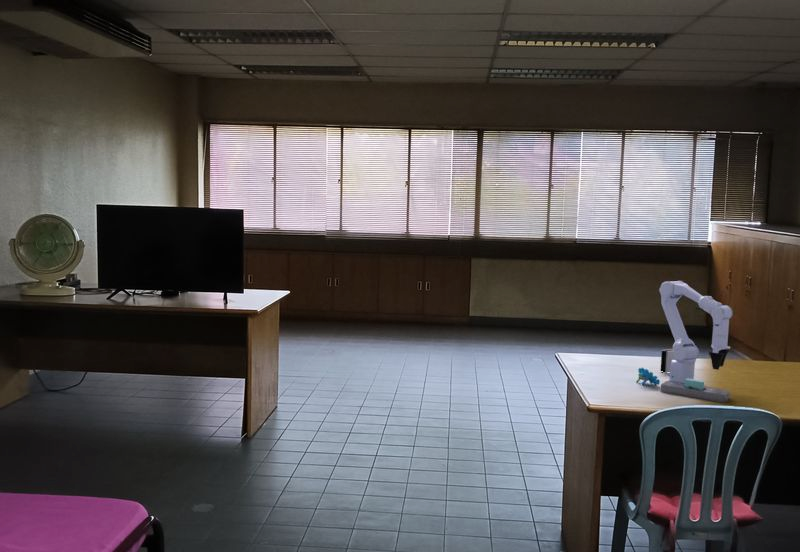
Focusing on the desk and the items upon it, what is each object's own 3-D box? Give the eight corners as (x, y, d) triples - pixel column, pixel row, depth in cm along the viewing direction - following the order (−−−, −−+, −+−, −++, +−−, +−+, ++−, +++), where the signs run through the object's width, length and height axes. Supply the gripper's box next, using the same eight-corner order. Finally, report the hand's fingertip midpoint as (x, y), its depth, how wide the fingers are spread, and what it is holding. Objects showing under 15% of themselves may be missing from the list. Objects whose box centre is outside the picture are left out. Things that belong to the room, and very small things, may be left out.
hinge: (671, 367, 322) (673, 346, 321) (682, 370, 318) (684, 348, 317) (658, 372, 312) (660, 350, 311) (670, 374, 308) (672, 352, 307)
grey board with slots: (660, 391, 277) (661, 384, 276) (666, 387, 283) (666, 380, 283) (724, 402, 262) (725, 395, 262) (729, 398, 269) (729, 391, 269)
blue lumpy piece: (665, 383, 283) (650, 367, 281) (656, 394, 282) (641, 377, 280) (649, 381, 294) (634, 365, 292) (640, 391, 292) (625, 375, 291)
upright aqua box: (684, 394, 274) (685, 379, 273) (686, 392, 276) (687, 378, 275) (701, 397, 270) (702, 382, 269) (703, 395, 272) (704, 381, 272)
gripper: (727, 338, 271) (724, 372, 273) (734, 334, 283) (732, 366, 284) (708, 336, 276) (705, 369, 277) (716, 331, 287) (713, 363, 288)
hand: (717, 367), depth 281 cm, fingers open, 7 cm apart
